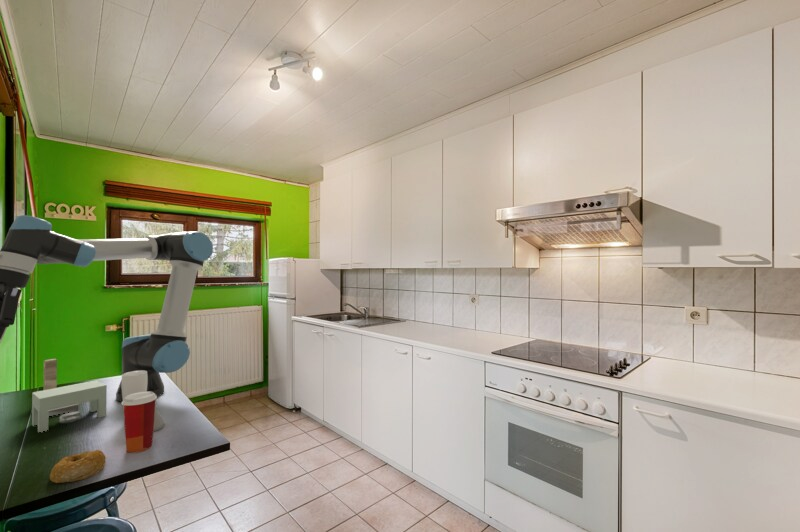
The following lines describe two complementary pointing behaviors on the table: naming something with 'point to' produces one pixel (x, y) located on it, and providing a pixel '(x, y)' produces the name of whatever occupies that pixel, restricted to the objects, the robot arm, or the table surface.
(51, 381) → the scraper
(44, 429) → the white bridge stand
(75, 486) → the table surface
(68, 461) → the bagel
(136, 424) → the paper cup
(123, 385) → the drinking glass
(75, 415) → the steel disc
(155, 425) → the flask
